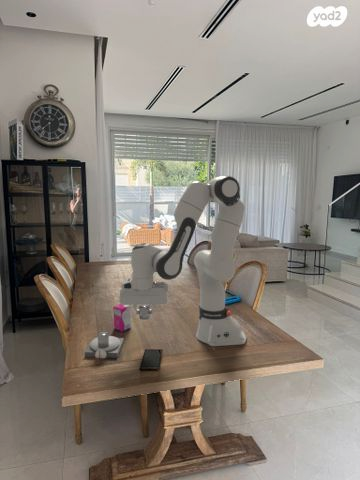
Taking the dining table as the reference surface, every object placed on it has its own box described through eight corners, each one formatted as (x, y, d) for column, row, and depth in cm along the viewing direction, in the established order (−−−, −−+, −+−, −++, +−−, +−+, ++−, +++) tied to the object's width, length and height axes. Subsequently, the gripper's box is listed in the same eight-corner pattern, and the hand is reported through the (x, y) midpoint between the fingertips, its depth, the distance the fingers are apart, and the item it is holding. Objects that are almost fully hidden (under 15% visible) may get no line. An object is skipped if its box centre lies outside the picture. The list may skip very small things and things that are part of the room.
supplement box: (122, 325, 159) (122, 302, 157) (131, 328, 155) (130, 305, 154) (113, 329, 155) (113, 306, 153) (121, 332, 151) (121, 309, 149)
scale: (124, 344, 142) (123, 334, 141) (117, 361, 128) (116, 350, 128) (94, 343, 142) (94, 334, 141) (84, 360, 129) (83, 349, 128)
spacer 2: (150, 315, 140) (150, 304, 139) (149, 319, 136) (148, 308, 135) (140, 315, 140) (139, 304, 140) (138, 319, 136) (138, 308, 135)
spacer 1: (110, 343, 134) (109, 332, 133) (107, 348, 130) (107, 336, 129) (99, 343, 134) (99, 331, 134) (96, 348, 130) (96, 336, 129)
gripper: (168, 279, 138) (169, 310, 141) (120, 280, 139) (122, 311, 141) (167, 284, 132) (168, 316, 134) (117, 285, 133) (119, 317, 135)
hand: (144, 313), depth 138 cm, fingers closed on spacer 2, 4 cm apart
